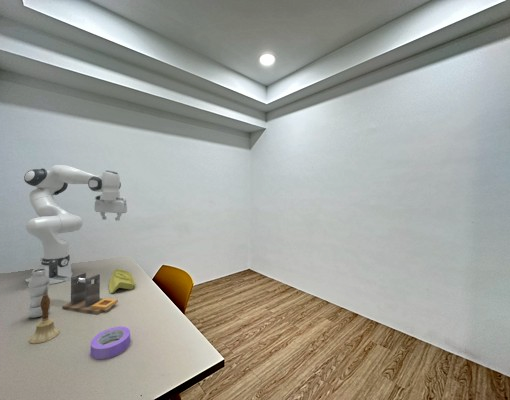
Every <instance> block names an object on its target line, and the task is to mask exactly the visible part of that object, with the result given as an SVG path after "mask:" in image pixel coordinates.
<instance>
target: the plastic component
mask: <svg viewBox="0 0 510 400" xmlns="http://www.w3.org/2000/svg"><path fill="white" fill-rule="evenodd" d="M108 282H109V283H108V289H109V290H108V291H109V293H110V294H114V293H115V292H116V291H117V289H119V288H120V289H125V290H133V289H134V287H135V286H136V281H135V279H134V277H133V274H132V273H130V272H128V270H127V271H126V270H124V269H121V268H115V270H113V273H112V275H111V277H110V279H109V281H108Z"/></svg>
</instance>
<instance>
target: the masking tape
mask: <svg viewBox="0 0 510 400" xmlns="http://www.w3.org/2000/svg"><path fill="white" fill-rule="evenodd" d="M114 340H116V341H114ZM110 341H113V342H111V343H107V342H110ZM105 343H106V344H105ZM130 344H131V329H130V328H129V327H126V326H114V327H110V328H108V329H105V330H103V331H101V332H99V333H98V334H96V335H95V336H94V337H93V338H92V340H91V341H90V356H91V357H92V358H93V359H97V360H105V359H109V358H112V357H115V356H117V355H119V354H121V353H123V352H124V351H125V350H126V349H127V348H128V347H129V346H130Z"/></svg>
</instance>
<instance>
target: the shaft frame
mask: <svg viewBox="0 0 510 400" xmlns="http://www.w3.org/2000/svg"><path fill="white" fill-rule="evenodd" d="M77 278H86V279H85V283H80V282H77ZM92 281H93V283H92ZM100 285H101V275H100V274H99V273H96V274H94V275H91V276H89V277H87V272H81V273H78V274H76V275H72V277H71V281H70V302H68V303H66V304H64V305H62V306H61V307H62V308H61V309H62V310H65V311H72V312H77V313H84V314H90V315H100V314H102V312H104V311H105V310H104V309H94V308H92V305H94V304H96V303H97V302H99V301H101V300H103V299H104V298H102V297H100V295H101V294H100V293H101V291H100V289H101V287H100ZM107 304H108V303H103V304H102V305H107ZM115 304H117V303H115ZM115 304H114V305H115Z"/></svg>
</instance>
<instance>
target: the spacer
mask: <svg viewBox="0 0 510 400" xmlns="http://www.w3.org/2000/svg"><path fill="white" fill-rule="evenodd" d="M102 299H103V300H101V301H99V302H97V303H96V304H94V305H92V308H94V309H104V311H105V310H108V309H109V308H111V307H112V306H114V305H115V303H116V304H117V303H118V302H119V300H118V299H117V298H116V299H114V298H102ZM103 303H108V304H107V305H102V304H103Z"/></svg>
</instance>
